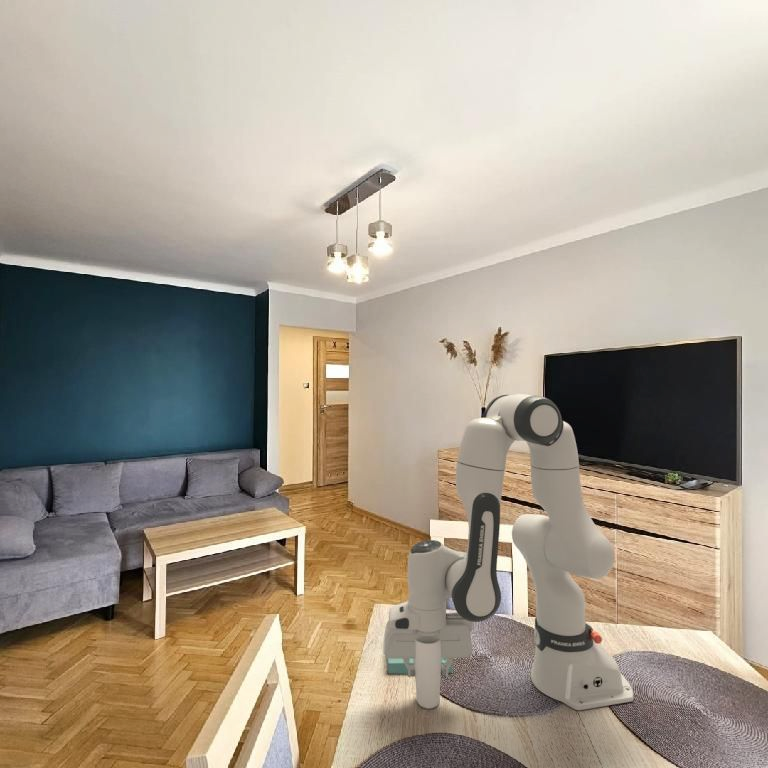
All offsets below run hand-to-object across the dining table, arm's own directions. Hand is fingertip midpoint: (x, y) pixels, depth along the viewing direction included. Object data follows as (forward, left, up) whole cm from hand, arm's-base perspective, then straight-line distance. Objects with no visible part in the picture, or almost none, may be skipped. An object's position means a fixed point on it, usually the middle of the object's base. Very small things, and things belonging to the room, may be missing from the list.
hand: (427, 674), depth 100 cm
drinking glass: (0, 0, -6) cm, 6 cm away
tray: (+1, -18, -6) cm, 19 cm away
